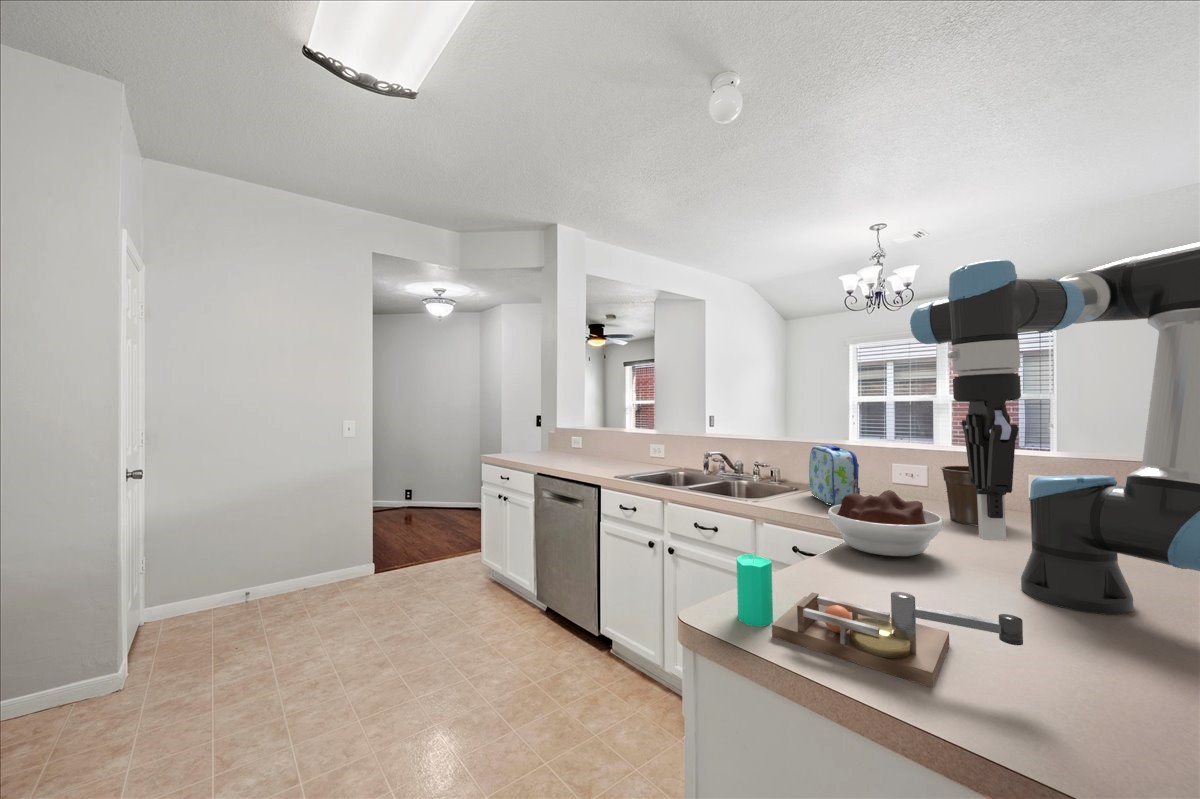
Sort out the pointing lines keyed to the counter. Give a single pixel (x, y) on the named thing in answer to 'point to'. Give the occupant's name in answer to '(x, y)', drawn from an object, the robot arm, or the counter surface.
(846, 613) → the ball
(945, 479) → the plant pot
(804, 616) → the stand
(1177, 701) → the counter surface
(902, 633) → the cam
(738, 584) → the candle
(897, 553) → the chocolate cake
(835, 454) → the lunch box
